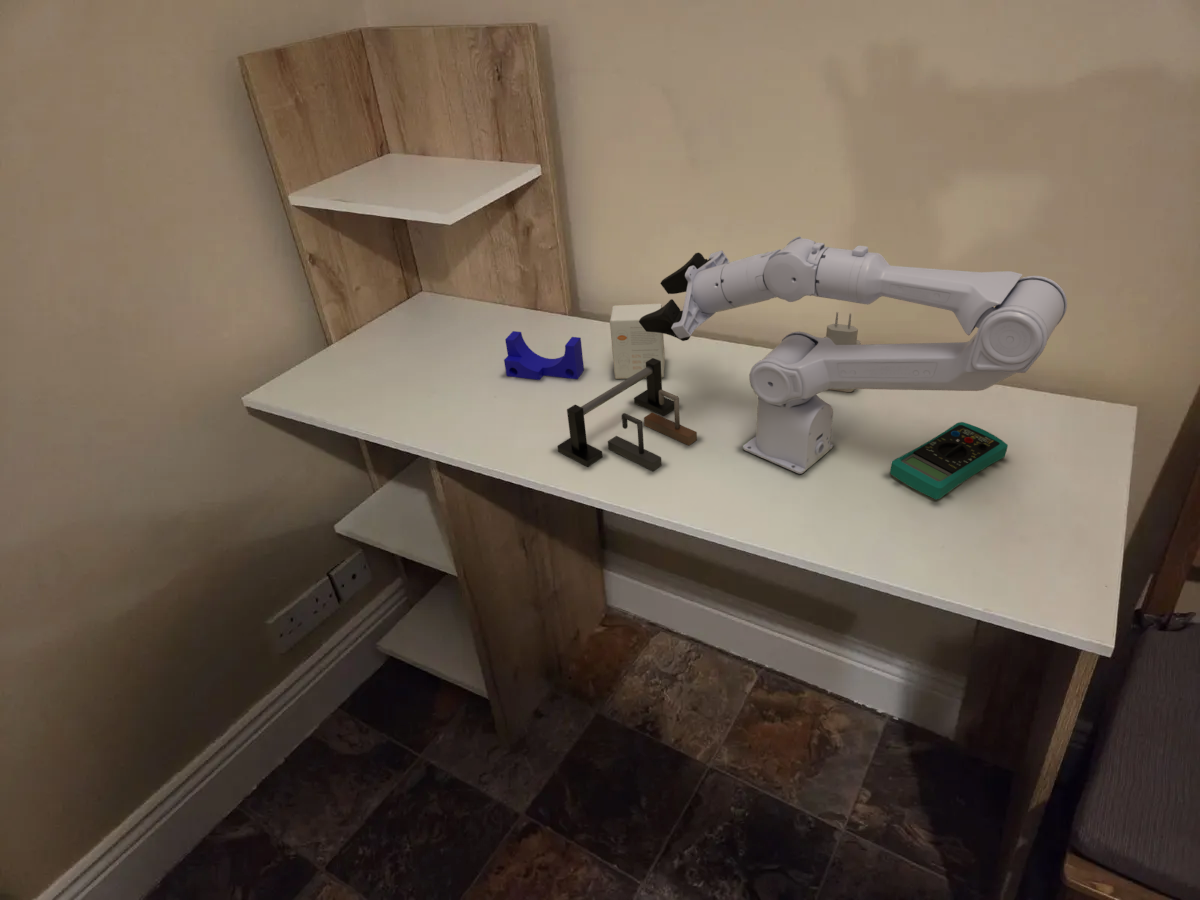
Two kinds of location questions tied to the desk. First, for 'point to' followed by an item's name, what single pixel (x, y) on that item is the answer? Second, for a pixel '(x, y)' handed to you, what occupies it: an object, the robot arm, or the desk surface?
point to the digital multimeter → (948, 459)
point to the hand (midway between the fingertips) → (654, 305)
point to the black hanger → (634, 447)
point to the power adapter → (843, 337)
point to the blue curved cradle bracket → (542, 360)
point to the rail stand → (648, 399)
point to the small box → (634, 340)
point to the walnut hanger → (670, 422)
